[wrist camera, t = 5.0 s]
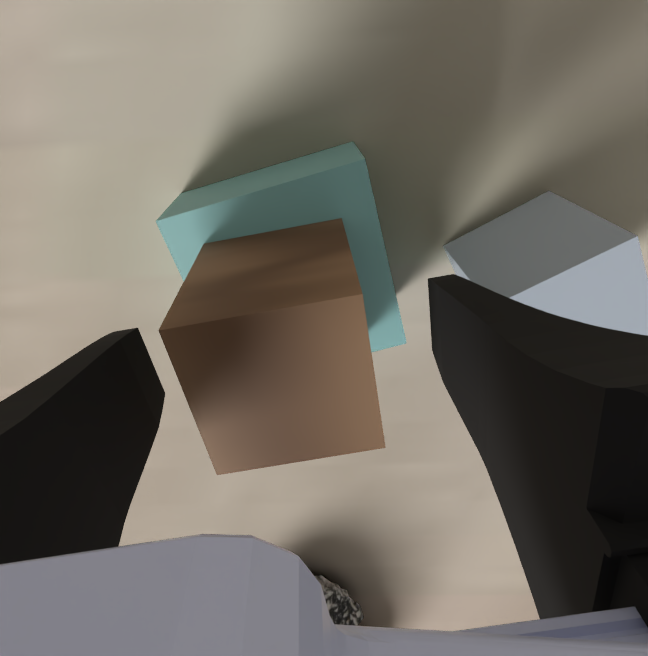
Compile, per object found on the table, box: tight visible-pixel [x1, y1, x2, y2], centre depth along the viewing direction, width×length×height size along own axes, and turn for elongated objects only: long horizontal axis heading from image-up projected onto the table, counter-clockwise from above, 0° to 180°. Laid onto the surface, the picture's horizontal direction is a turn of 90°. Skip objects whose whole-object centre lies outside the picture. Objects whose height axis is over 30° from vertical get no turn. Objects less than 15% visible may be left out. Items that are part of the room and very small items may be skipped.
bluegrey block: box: [443, 191, 648, 336], centre depth 16 cm, size 4×4×5 cm
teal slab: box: [156, 141, 406, 352], centre depth 16 cm, size 6×6×4 cm
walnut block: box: [159, 218, 385, 475], centre depth 12 cm, size 4×4×5 cm
